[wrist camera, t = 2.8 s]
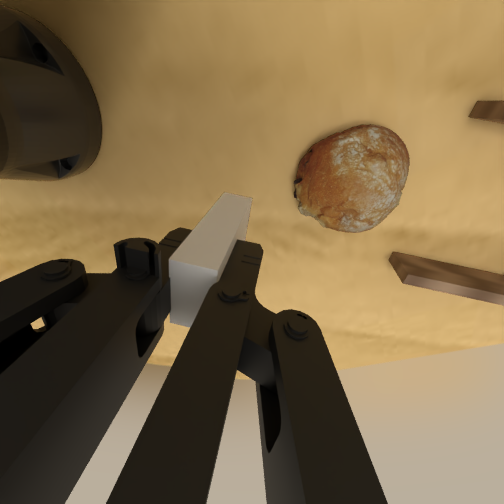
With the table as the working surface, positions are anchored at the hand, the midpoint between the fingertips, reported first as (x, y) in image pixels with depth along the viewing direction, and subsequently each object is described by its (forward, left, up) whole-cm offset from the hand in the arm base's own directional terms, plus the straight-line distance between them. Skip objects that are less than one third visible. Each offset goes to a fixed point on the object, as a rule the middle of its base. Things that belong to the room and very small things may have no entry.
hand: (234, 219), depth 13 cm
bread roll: (+8, 0, -15) cm, 17 cm away
